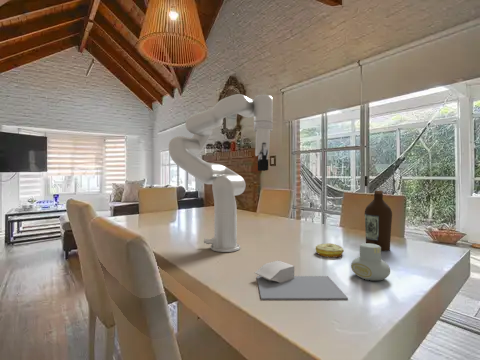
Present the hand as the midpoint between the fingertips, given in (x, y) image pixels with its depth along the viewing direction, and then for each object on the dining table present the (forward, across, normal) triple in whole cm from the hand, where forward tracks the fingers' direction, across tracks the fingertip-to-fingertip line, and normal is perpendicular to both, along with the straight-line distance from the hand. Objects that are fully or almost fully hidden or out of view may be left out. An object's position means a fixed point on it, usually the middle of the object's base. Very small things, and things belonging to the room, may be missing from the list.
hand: (262, 170), depth 108 cm
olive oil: (+34, -9, +51) cm, 62 cm away
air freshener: (+34, +25, +31) cm, 52 cm away
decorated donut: (+34, 0, +27) cm, 43 cm away
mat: (+33, +32, +7) cm, 47 cm away
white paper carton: (+31, +24, +5) cm, 39 cm away
